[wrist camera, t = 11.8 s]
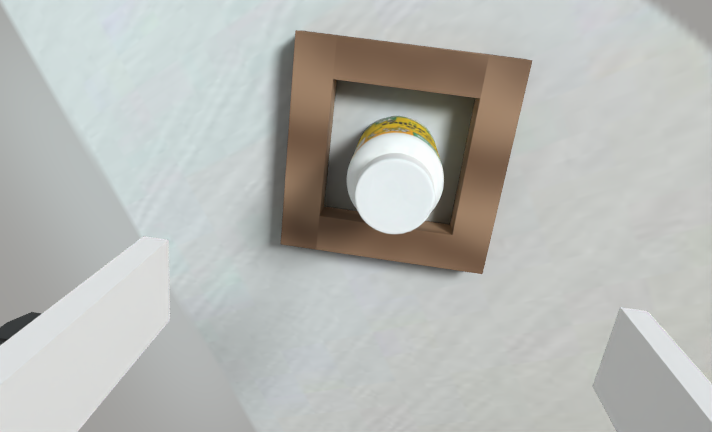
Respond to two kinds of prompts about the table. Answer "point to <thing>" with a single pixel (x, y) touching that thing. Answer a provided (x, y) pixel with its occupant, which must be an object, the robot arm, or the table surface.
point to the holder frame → (409, 71)
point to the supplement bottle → (395, 175)
